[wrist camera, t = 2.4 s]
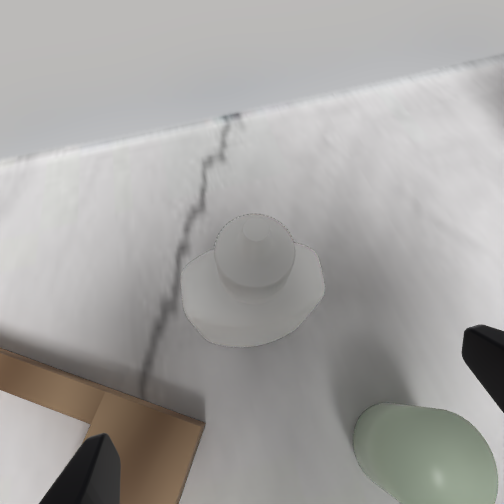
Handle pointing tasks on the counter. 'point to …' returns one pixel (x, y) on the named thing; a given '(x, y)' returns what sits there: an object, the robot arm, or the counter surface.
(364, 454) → the pale green rounded cylinder
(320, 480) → the counter surface
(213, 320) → the eye dropper bottle
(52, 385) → the walnut square frame
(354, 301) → the counter surface
